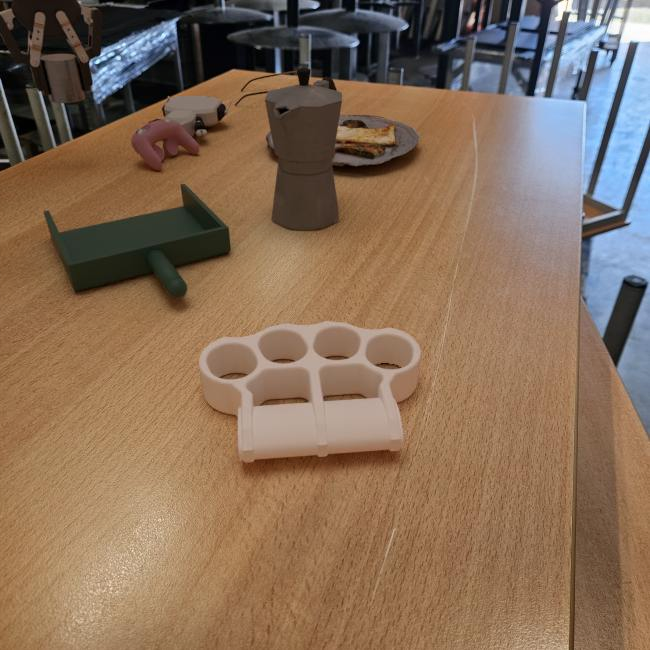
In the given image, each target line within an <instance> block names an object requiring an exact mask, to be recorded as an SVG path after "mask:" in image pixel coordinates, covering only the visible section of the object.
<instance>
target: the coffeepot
mask: <svg viewBox="0 0 650 650" xmlns="http://www.w3.org/2000/svg"><path fill="white" fill-rule="evenodd" d="M296 70H297V72H296V74H297V80H298V84H295V85H290V86H285V87H282V88H281V87H280V88H277V89H272V90H267V91H268V92H267V93H266V95H265V98H264V103H265V108H266V109H265V110H266V113H267V119H268V124H269V129H270V130H269V131H271V135H272V141H273V146H274V149H273V152H274V155H275V156H277V169H276V177H275V186H274V194H273V202H272V203H273V204H272V211H271V220H272V221H273V222H275V223H276V224H277V225H279V226H280V227H282V228H285V229H289V230H293V231H302V232H303V231H305V232H306V231H316V230H321V229H325V228H328V227H330V226H332V225H334V224H335V223H336V222H337V221H339V219H340V217H339V216H340V215H339V203H338V196H337V195H338V194H337V189H336V182H335V175H334V168H333V165H332V156H333V155H334V148H335V142H336V136H337V129H338V123H339V117H340V115H341V109H342V104H343V92H342V91H338V90H337V86H336V85H335V82H334V79H333V78H332V77H330V76H325V77H323V78H322V79H318V80H316V81H314V82H313V84H309V83H310V77H311V72H312V71H311V68H308V67H305V66H303V67H300V68H297V69H296Z"/></svg>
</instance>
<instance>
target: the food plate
mask: <svg viewBox="0 0 650 650" xmlns="http://www.w3.org/2000/svg"><path fill="white" fill-rule="evenodd" d="M421 137H422V136H421V135H419V132H418V131H417V130H416V129H414V128H413V127H412V126H411V125H408V124H406V123H404V122H400V121H396V120H391V119H389V118H386V117H385V118H384V116H378V115H370V114H369V115H368V114H340V117H339V123H338V129H337V136H336V142H335V148H334V155H333V156H332V166H335V167H343V166H345V165H348V166H352V167H358V166H359V167H360V166H369V165H379V164H383V163H385V162H389V161H391V159H393V158H396V157H400V156H403V155H406V154H407V153H408V152H410V151H412V150H414V149H415V147H417V146H418V144H419V142H420V140H421ZM265 140H266V144H267V147H268V148H269V149H270V150H272V153H274V146H273V141H272V135H271V130H269V132H268V133H267V134H266V136H265Z"/></svg>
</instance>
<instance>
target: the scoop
mask: <svg viewBox="0 0 650 650" xmlns="http://www.w3.org/2000/svg"><path fill="white" fill-rule="evenodd" d="M180 191H181V192H180V193H181V198H182V199H181V200H182V205H181V206H177V207H172V208H167V209H162V210H158V211H154V212H149V213H145V214H140V215H134V216H130V217H125V218H121V219H116V220H112V221H107V222H106V221H105V222H101V223H96V224H92V225H88V226H83V227H78V228H72V229H68V230H64V231H59V230H58V227H57V224H56V223H55V221H54V219H53V217H52V215H51V212H50V210H48V209H47V210H44V211H43V212H42V213H43V216H44V218H45V222H46V225H47V228H48V232H49V235H50V238H51V241H52V243H53V245H54V247H55V250H56V252H57V255H58V256H59V259H60V261H61V263H62V266H63V269H64V270H65V272H66V275H67V277H68V279H69V282H70V284H71V286H72V289H73V291H74V292H75V293H78V292H81V291H84V290H89V289H93V288H96V287H100V286H101V287H102V286H105V285H108V284H112V283H117V282H120V281H124V280H129V279H131V278H135V277H140V276H144V275H147V274H151V273H154V275H155V276H156V278H157V280H158V281H159V282H160V284H161V286H162V287H163V288H164V290H165V291H166V293H167V294H168V295H169V296H170V297H171V298H172V299H181V298H184V296H185V295H187V291H188V284H187V283H186V281H185V280H184V279H183V277H182V275H181V274H180V273H179V272H178V271H177V269H176V268H175V267H178V266H183V265H187V264H190V263H194V262H198V261H202V260H207V259H210V258H214V257H217V256H222V255H226V254H229V253H230V252H232V249H231V248H232V247H231V238H230V237H231V236H230V229H229V226H228V225H227V224H226V223H225V222H224V221H223V220H222V219H221V218H220V217H219V216H218V215H217V214H216V213H215V212H214V211H213V210H212V209H211V208H210V207H209V206H208V205H207V204H206V203H205V202H204V201H203V200H202V199H201V198H200V197H199V196H198V195H197V194H196V193H195V192H194V191H193V190H192V189H191V188H190V187H189V186H188V185H187V184H185V183H180Z"/></svg>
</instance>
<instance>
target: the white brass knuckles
mask: <svg viewBox="0 0 650 650" xmlns="http://www.w3.org/2000/svg"><path fill="white" fill-rule="evenodd" d="M337 356H338V357H344V359H329V358H330V357H337ZM276 360H290V361H292V362H283V363H281V362H274V361H276ZM421 360H422V350H421V347H420V345H419V343H418V342H417V340H416V339H415V338H414V337H412V336H411V335H410V334H408V333H407V332H405V331H403V330H400V329H397V328H394V327H390V326H389V327H385V328H377V329H376V328H375V329H374V328H373V329H371V328H362V327H358V326H355V325H352V324H351V323H349V322H342V321H331V320H324V321H322V322H318V323H313V324H294V323H290V322H285V323H281V324H276V325H271V326H267V327H265V328H264V329H262V330H261V331H259V332H256V333H253V334H250V335H246V336H235V337H234V336H232V337H231V336H222V337H220V338H217V339H215V340H213V341H212V342H211V343H209V344H208V345H207V346H206V347H204V349H203V350H202V352H201V353H200V356H199V358H198V372H199V377H200V384H201V390H202V395H203V397H204V400H205V401H206V403H207V404H208V405H209V406H210V407H211V408H212V409H214V410H216V411H218V412H220V413H223V414H227V415H234V416H236V417H237V452H238V453H237V454H238V460H239V461H243V463H254V462H255V460H268V459H283V458H296V457H297V458H298V457H308V456H317V457H319V458H322V457H328V455H335V454H348V453H349V454H350V453H363V452H375V451H387V450H388V451H390V452H399V451H400V450H401V449H403V448H404V441H405V440H404V428H403V423H402V422H403V421H402V417H401V413H400V409H399V406H398V403H400V402H403V401H404V400H407V399H408V398H409V397H411V396H412V395H413V394H414V392H415V391H416V389H417V387H418V381H419V374H420V368H421ZM381 363H389V364H388V365H392V364H395V365H394V366H396V365H398V366H399V368H392V369H391V368H383V367H379V366H378V365H382V364H381ZM398 366H397V367H398ZM400 367H401V368H400ZM229 374H243V375H245V376H243V377H239V378H234V379H227V378H221V377H224V376H226V375H229ZM340 395H341V396H342V395H343V396H344V395H361V396H363V397H365V398H353V399H352V398H351V399H340V400H339V399H337V400H325V401H324V398H325V397H327V396H328V397H329V396H340ZM297 398H301V399H304V400H306V401H307V402H297V403H280V404H267V405H263V403H264V402H266V401H268V400H281V399H297ZM239 461H238V462H239Z"/></svg>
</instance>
